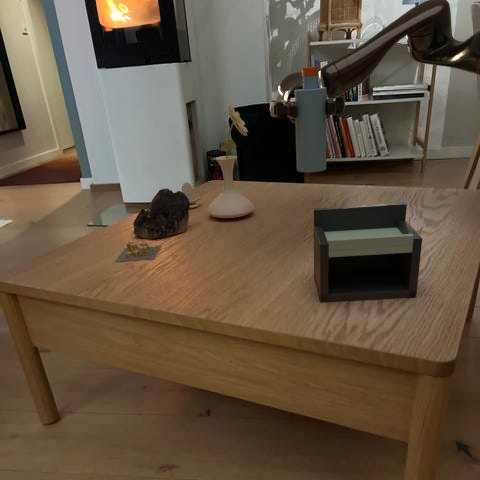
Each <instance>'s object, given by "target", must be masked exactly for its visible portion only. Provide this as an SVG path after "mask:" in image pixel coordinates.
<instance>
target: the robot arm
mask: <svg viewBox="0 0 480 480" xmlns="http://www.w3.org/2000/svg"><path fill="white" fill-rule="evenodd" d="M451 12H452V11H451V4H450V2H449V1H448V0H425V1H423V2H421V3H419V4H417V5H415V6H414V7H412V8H410V9H409V10H407V11H406V12H405V13H403V14H402V15H400V16H398V18H397V19H395V20H393V21H392V22H390V23H389V24H388V25H386V26H385V27H384V28H382V29H381V30H380V31H378V32H377V33H376V34H375V35H373V36H372V37H370V38H369V39H368V40H367V41H365V42H364V43H362V44H361V45H359V46H358V47H356V48H355V49H353V50H351V51H349V52H348V53H346V54H343V55H342V56H340V57H338V58H337V59H335V60H333V61H331V62H329V63H327V64H325V65H324V66H322V67H321V68H320V69H319V70H318V83H319V85H318V88H323V87H324V88H326V117H328V116H333V115H334V113H336V114H338V115H341V114H342V113H343V114H344V113H345V110H346V95H345V93H347V92H349V91H350V90H352V89H354V88H356V87H357V86H359V85H361V84H363V83H364V82H365V81H366V80H367V79H368V78H369V77H370V76H371V75H372V74H373V73H374V71H376V69H377V67H378V66H379V65H380V64H381V62H382V61H383V59H384V58H385V57H386V56H387V54H388V53H389V52H390V51H391V49H392V48H393V47H394V46H395V45H396V44H397V43H398V42H400V41H401V40H403V39H404V38H405V37H406V42H407V50H408V54H409V56H410V58H411V59H412V60H413V61H415V62H417V63H419V64H423V65H424V64H425V65H431V66H437V67H446V68H451V69H455V70H460V71H464V72H467V73H471V74H474V75H476V76H479V77H480V29H479V30H478V31H476V32H475V33H474V34H472V35H471V36H470V37H468V38H466V39H464V40H462V41H461V40H458V39H456V38H454V36H453V28H452V27H453V26H452V13H451ZM299 89H303V76H302V71H296V72H292V73H290V74H287V75H286V76H285V77H284V78H283V79H282V80H281V81H280V83H279V85H278V93H279V97H280V98H281V101H280V100H271V101H269V113H270V117H272V118H276V119H279V120H280V119H282V118H284V116H285V115H286V118H288V119H289V120H290V121H291V123H293V124H295V125H296V119H295V118H297V115H296V103H295V90H299Z"/></svg>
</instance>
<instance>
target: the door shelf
mask: <svg viewBox="0 0 480 480" xmlns="http://www.w3.org/2000/svg"><path fill="white" fill-rule="evenodd" d="M407 207H408V203H406V202H391V203H376V204H375V203H373V204H361V205H360V204H359V205H347V206H346V205H345V206H330V207H315V208H313V210H312V211H313V212H312V213H313V278H314V282H315V287H316V290H317V295H318V299H319V302H320V303H330V302H331V303H332V302H351V301H370V300H371V301H372V300H387V299H406V298H407V299H411V298H417V294H418V286H419V285H418V284H419V276H420V275H419V274H420V265H421V264H420V263H421V255H422V245H423V238H422V237H421V235H420V234H419V233H418V232H417V231H416V230H415V229H414V228H413V227H412V226H411V224H410V223H409V222H408V221H407V209H408V208H407Z"/></svg>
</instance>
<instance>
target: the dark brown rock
mask: <svg viewBox="0 0 480 480" xmlns="http://www.w3.org/2000/svg"><path fill="white" fill-rule="evenodd" d="M189 207H190V202H189V199H188V198H187V196H186V195H185V194H184V193H183V192H182V190H177V191H176V192H173V190H171V189H169V188H161V189H159V190H158V191H157V193H156V194H155V195H154V197H153V198H152V199H151V202H150V204H149V205H148V206H147V208H146V209H144V208H141V209H140V211H138V213H137V215H136V218H135V219H134V220H133V224H132V225H133V235H135V236H139V237H140V238H143V239H147V240H154V239H155V240H156V239H162V238H166V237H171V236H175V235H177V234H181V233H184V232H185V231H186V230H187V227H188V222H189V218H190V213H189V212H190V211H189V210H190V208H189Z"/></svg>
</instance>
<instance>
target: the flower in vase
mask: <svg viewBox="0 0 480 480" xmlns="http://www.w3.org/2000/svg"><path fill="white" fill-rule="evenodd" d="M226 108H227V112H228V115H229V116H230V119H231V121H232V123H231V125H230V128H229V129H228V134H227V140H226V143H225V142H222V144H221V146H220V148H219V150H220V151H222V152H225V155H222V156H218V157H215V160H216V161H217V163H218V164H219V166H220V168H221V173H222V178H223V189H222V191H221V193H220V194H219V195H218V196H217V197H216V198H215V199H214V200H213V201H212V202H211V203H210V205H209V206H208V209H207V213H208V214H209V215H210V216H212V217H215V218H217V219H218V218H219V219H235V218H240V217H245V216H247V215H249V214H250V213H252V212H253V211H254V209H255V206H254V203H253V202H252V201H251V200H250V199H248V198H247V197H246V196H244V195H243V194H242V193H240V192H239V191H238V190H237V189H236V187H235V185H234V165H235V162H236V160H237V158H238V156H237V155H228V154H229V153H228V152H229V150H230V149H232V150H235V149H237V145H236V142H235V141H234V139H231V138H230V136H231V133H232V129H233V127H234V126H235V128H236V129H237V130H238V132H239V133H240V134H241V135H243V136H244V137H247V136H248V134H247V133H249V130H248V129H247V127H246V126H245V125H246V122H245V120H242V119H243V118H241V116H240V112H239V111H235V108H234V105H233V104H229V103H227V106H226Z"/></svg>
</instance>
